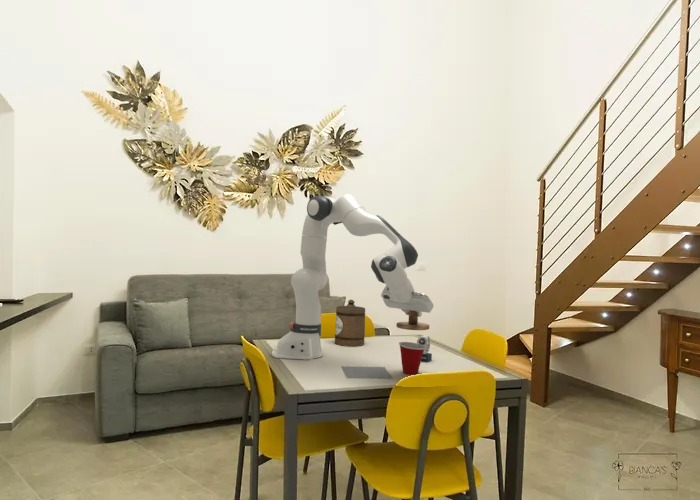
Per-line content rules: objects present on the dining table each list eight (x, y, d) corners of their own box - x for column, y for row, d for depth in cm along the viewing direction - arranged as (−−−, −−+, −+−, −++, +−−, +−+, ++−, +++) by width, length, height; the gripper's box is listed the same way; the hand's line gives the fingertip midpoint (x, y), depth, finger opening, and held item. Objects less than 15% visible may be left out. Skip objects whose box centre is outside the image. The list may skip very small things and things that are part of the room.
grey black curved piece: (414, 360, 238) (415, 336, 238) (421, 357, 245) (422, 333, 244) (425, 363, 235) (427, 338, 235) (433, 359, 242) (434, 335, 241)
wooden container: (335, 340, 277) (337, 297, 277) (364, 341, 277) (366, 299, 276) (333, 345, 262) (335, 300, 262) (363, 347, 262) (366, 302, 261)
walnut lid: (400, 329, 206) (401, 308, 206) (393, 324, 219) (393, 304, 219) (433, 330, 208) (434, 309, 208) (423, 324, 221) (424, 305, 221)
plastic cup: (423, 378, 208) (425, 347, 208) (395, 375, 210) (397, 345, 210) (425, 372, 219) (426, 342, 218) (398, 369, 221) (400, 340, 220)
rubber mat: (346, 379, 202) (346, 378, 202) (341, 367, 220) (341, 366, 220) (393, 379, 204) (393, 378, 204) (384, 367, 222) (384, 367, 222)
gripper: (429, 287, 202) (440, 311, 210) (384, 283, 214) (396, 305, 222) (422, 300, 198) (434, 324, 206) (377, 295, 211) (389, 317, 219)
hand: (414, 314), depth 214 cm, fingers closed on walnut lid, 4 cm apart
